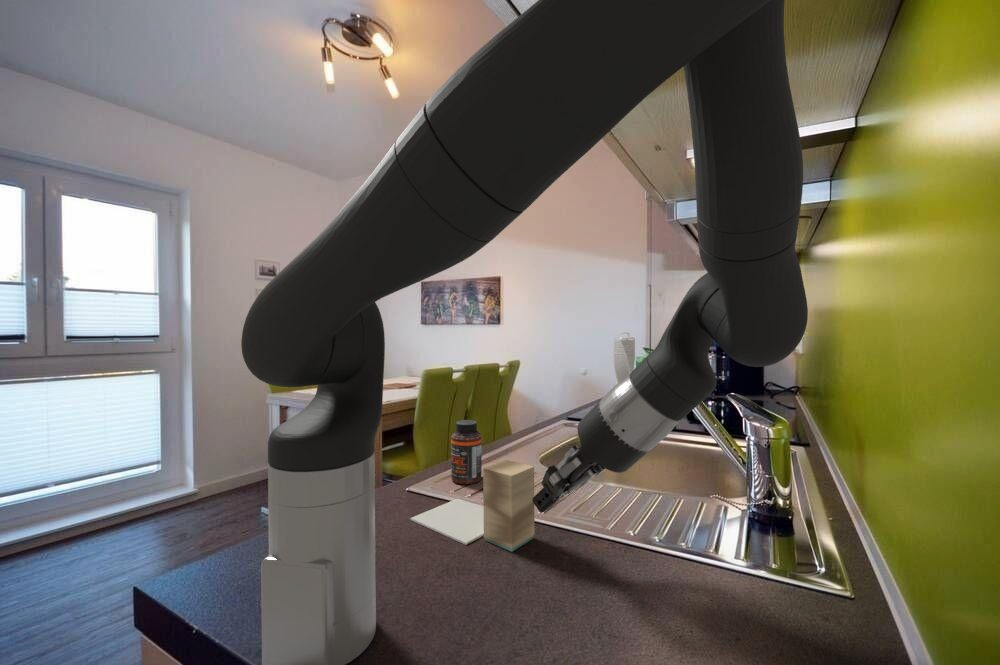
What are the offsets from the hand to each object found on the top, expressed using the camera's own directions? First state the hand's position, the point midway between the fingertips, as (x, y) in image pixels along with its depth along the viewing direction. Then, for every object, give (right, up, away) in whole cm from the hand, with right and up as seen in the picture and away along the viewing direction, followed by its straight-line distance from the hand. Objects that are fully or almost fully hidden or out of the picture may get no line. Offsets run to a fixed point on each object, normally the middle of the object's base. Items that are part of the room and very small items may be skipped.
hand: (539, 504), depth 56 cm
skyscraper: (+38, -6, +92) cm, 100 cm away
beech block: (-4, -6, +3) cm, 8 cm away
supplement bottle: (-12, -6, +27) cm, 30 cm away
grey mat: (-11, -6, +10) cm, 16 cm away
